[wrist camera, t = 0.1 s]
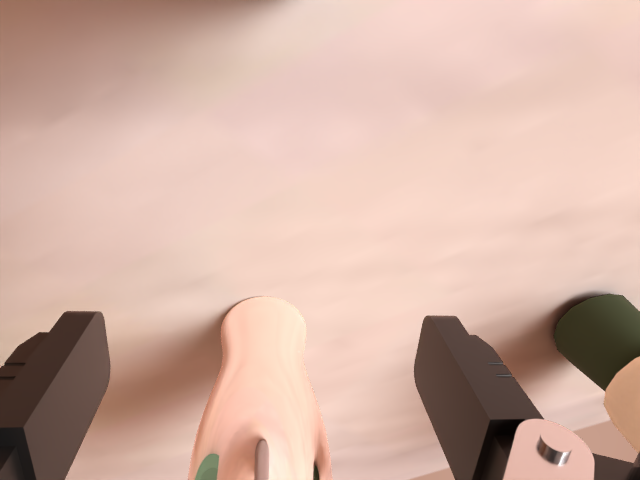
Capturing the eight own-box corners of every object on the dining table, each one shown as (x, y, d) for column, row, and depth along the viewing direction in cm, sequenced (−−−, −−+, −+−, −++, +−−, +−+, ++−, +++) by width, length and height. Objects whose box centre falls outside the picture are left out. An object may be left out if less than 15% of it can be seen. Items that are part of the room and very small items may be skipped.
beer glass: (258, 383, 34) (251, 615, 21) (193, 327, 32) (136, 555, 18) (331, 334, 33) (373, 549, 20) (270, 271, 30) (269, 472, 17)
